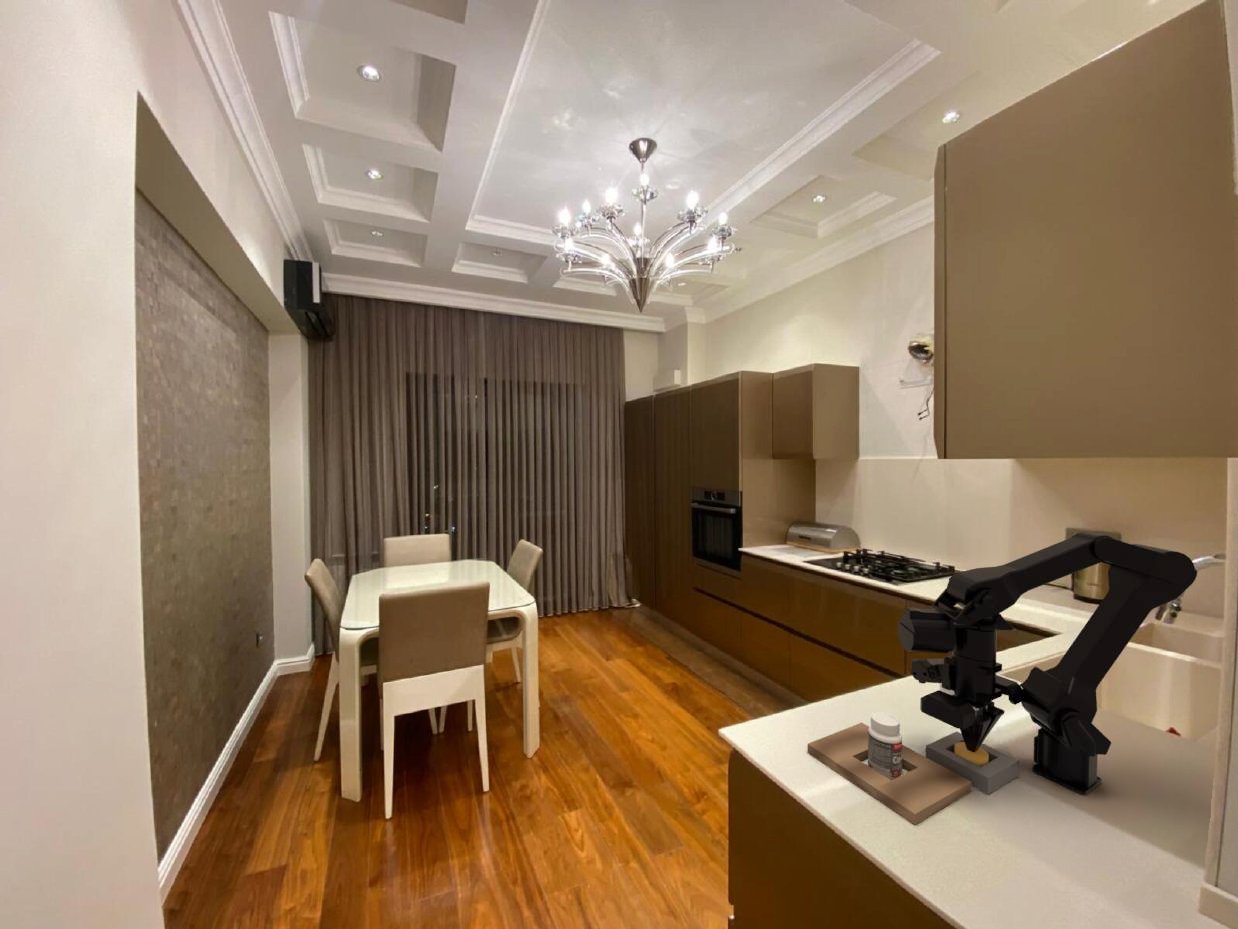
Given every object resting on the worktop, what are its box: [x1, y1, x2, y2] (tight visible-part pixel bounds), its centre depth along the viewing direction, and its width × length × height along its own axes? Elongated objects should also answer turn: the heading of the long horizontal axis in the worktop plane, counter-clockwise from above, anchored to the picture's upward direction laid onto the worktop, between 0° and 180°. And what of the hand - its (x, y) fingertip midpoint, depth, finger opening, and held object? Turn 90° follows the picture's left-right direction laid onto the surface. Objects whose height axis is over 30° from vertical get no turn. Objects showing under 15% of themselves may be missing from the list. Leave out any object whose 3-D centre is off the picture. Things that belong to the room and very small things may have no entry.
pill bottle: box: [867, 711, 903, 780], centre depth 77 cm, size 5×5×8 cm
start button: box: [955, 742, 989, 767], centre depth 78 cm, size 4×4×2 cm
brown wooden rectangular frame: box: [806, 722, 972, 826], centre depth 77 cm, size 18×14×2 cm
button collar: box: [925, 731, 1020, 796], centre depth 78 cm, size 9×9×2 cm
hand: (971, 750), depth 78 cm, fingers closed, pressing on start button
